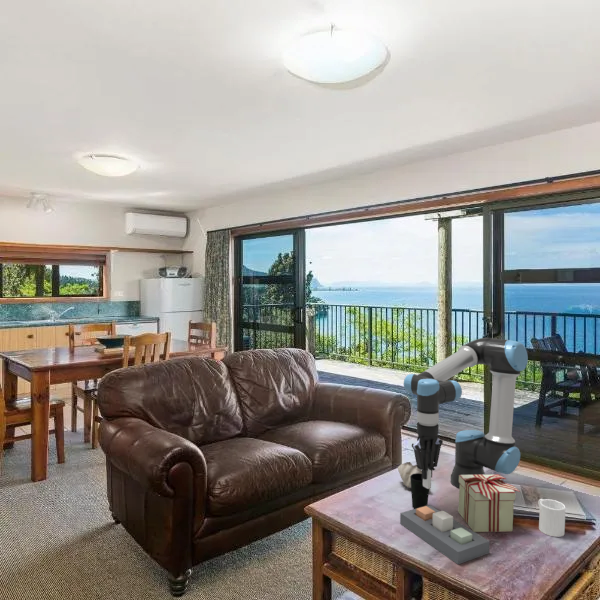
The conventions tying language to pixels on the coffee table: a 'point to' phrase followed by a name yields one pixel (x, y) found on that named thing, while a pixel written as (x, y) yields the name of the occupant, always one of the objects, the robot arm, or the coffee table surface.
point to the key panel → (445, 537)
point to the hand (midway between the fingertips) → (426, 487)
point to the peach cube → (425, 513)
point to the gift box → (486, 502)
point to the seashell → (408, 472)
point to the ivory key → (442, 521)
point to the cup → (418, 491)
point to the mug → (551, 517)
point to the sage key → (461, 536)
